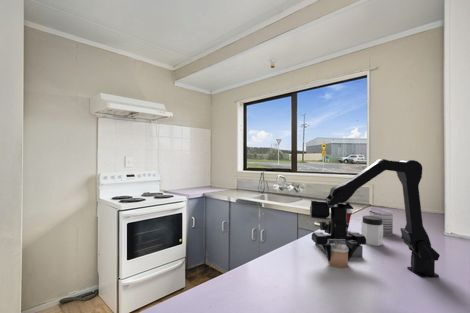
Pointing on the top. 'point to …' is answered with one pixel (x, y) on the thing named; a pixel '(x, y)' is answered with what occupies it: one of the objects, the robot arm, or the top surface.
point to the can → (384, 219)
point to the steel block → (337, 242)
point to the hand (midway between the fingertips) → (337, 260)
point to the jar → (372, 230)
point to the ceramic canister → (339, 255)
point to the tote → (357, 252)
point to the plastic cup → (349, 215)
